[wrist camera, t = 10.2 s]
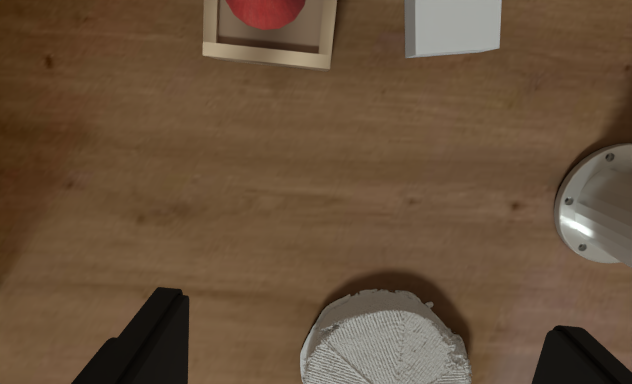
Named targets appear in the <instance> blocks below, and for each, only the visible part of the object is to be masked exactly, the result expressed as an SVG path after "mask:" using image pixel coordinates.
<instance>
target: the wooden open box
mask: <svg viewBox="0 0 632 384" xmlns="http://www.w3.org/2000/svg"><path fill="white" fill-rule="evenodd" d="M336 5H337V0H306V1H305V5H304V7H303V9H302V10H301V11H300V13H299V14H298V16H297V17H296V19H295V20H294V21H292V22H290V23H289V24H287V25H285V26H283V27H281V28H279V29H269V30H261V29H258V28H255V27H252V26H248V25H246V24H245V23H244V22H242V21H241V20H240V19H239V18H237V17H236V16H235V15H234V14H233V12H232V11H231V9H230V7H229V5H228V4H227V2H226V0H204V22H203V55H204V56H208V57H211V58H215V59H219V60H224V61H233V62H243V63H252V64H262V65H271V66H281V67H290V68H299V69H309V70H318V71H328V70H329V69H330V62H331V53H332V43H333V34H334V24H335V15H336Z"/></svg>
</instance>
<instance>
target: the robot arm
mask: <svg viewBox="0 0 632 384" xmlns="http://www.w3.org/2000/svg"><path fill="white" fill-rule="evenodd" d="M554 219H555V225H556V228H557V231H558V233H559V235H560V237H561V239H562V240H563V242H564V243H565V244H566V245H567V246H568V247H569V248H570V249H572V250H573V251H574V252H576V253H577V254H579V255H581V256H583V257H584V258H586V259H589V260H592V261H596V262H601V263H618V262H623V263H624V264H626V265H628V266H629V267H631V268H632V143H623V144H615V145H612V146H608V147H604V148H602V149H600V150H598V151H596V152H594V153H592V154H590V155H589V156H587V157H586V158H584V159H583V160H582V161H580V162H579V163H578V164H577V165H576V166H575V167H574V168H573V169H572V170H571V171H570V173H569V174H568V175H567V177H566V178H565V179H564V181H563V183H562V185H561V187H560V189H559V191H558V194H557V197H556V200H555V208H554ZM188 340H189V297H188V296H185V295H183V293H182V290H181V289H173V288H163V287H158V288H157V289H156V290H155V291H154V292H153V294H152V295H151V296H150V297H149V299H148V300H147V301H146V302H145V304H144V305H143V306H142V308H141V309H140V310H139V311H138V313H137V314H136V315H135V316H134V318H133V319H132V320H131V321H130V323H129V324H128V325H127V326H126V328H125V329H124V330H123V331H122V333H121V334H120V335H119V337H118V338H114V337H113V338H110V339H108V340H107V341H106V342H105V343H104V344H103V346H102V347H101V348H100V349H99V351H98V352H97V353H96V354H95V355H94V357H93V358H92V359H91V360H90V361H89V363H88V364H87V365H86V366H85V367H84V369H83V370H82V371H81V372H80V374H79V375H78V376H77V377H76V378H75V380H74V381H73V382H72V383H71V384H188ZM532 384H632V372H631V371H630V370H628V369H627V368H626V367H625V366H624V365H623V364H622V363H621V362H620V361H619V360H618V359H616V358H615V357H614V356H613V355H612V354H611V353H610V352H609V351H608V350H607V349H606V348H604V347H603V346H602V345H601V344H600V343H599V342H598V341H597V340H596V339H595V338H594V337H592V336H591V335H590V334H589V333H588V332H587V331H586V330H585V329H583V328H580V327H571V326H561V325H558V326H555V327H554V328H553V330H551V331H549V332H548V333H547V335H546V338H545V341H544V344H543V348H542V351H541V354H540V358H539V361H538V364H537V368H536V371H535V374H534V378H533V381H532Z"/></svg>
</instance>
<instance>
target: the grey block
mask: <svg viewBox="0 0 632 384" xmlns="http://www.w3.org/2000/svg"><path fill="white" fill-rule="evenodd" d="M501 1H502V0H405V58H412V57H425V56H437V55H450V54H463V53H476V52H483V51H488V50H493V49H498V48H499V43H500V22H501Z"/></svg>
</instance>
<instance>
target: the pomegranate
mask: <svg viewBox="0 0 632 384" xmlns="http://www.w3.org/2000/svg"><path fill="white" fill-rule="evenodd" d="M305 1H306V0H226V2H227V4H228V5H229V7H230V9H231V11H232V12H233V14H234V15H235V16H236V17H237V18H239V19H240V20H241V21H242V22H244V23H245V24H246V25H248V26H252V27H255V28H258V29H261V30H269V29H279V28H281V27H283V26H285V25H287V24H289V23H290V22H292V21H294V20H295V19H296V17H297V16H298V14H299V13H300V11H301V10H302V9H303V7H304V5H305Z"/></svg>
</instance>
